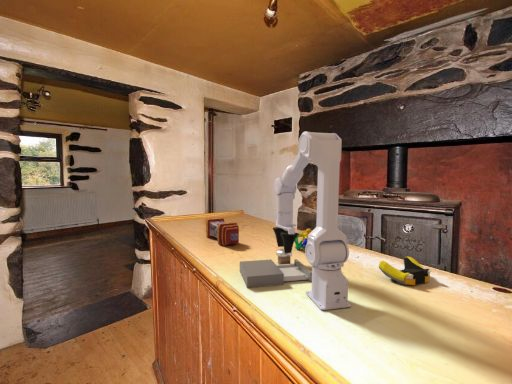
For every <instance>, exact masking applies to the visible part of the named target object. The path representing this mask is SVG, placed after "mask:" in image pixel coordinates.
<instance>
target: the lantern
mask: <svg viewBox="0 0 512 384" xmlns="http://www.w3.org/2000/svg"><path fill="white" fill-rule="evenodd" d="M239 228H240V227H239V224H238V223H237V222H226V223H225V219H224V218H223V217H215V218H206V219H205V236H206V238H209V239H210V238H216V239H217V244H218V245H219V246H227V245H232V244H233V245H238V244H239V241H240V240H239V238H240V236H239V235H240V234H239V233H240V229H239Z"/></svg>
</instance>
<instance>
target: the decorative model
mask: <svg viewBox="0 0 512 384" xmlns="http://www.w3.org/2000/svg"><path fill="white" fill-rule="evenodd" d="M312 231H313V230H312V228H307V229H305V231H302V232H296V233H297V234H298V235H297V237H296V239H295V241H294V244H295V245H294V248H295V250H301V249H305V248H306V245H307V240H308V235H309V233H311V232H312ZM301 237H302V238H301ZM299 238H301V240H300V241H299Z"/></svg>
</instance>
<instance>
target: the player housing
mask: <svg viewBox="0 0 512 384" xmlns="http://www.w3.org/2000/svg"><path fill="white" fill-rule="evenodd" d="M277 265H278V264H276V263H275V262H274V261H273V259H260V260H259V259H257V260H246V261H245V260H243V261H239V273H240V276H241V278H242V279H243V280H242V281H243V282H244V284H245V286H246V288H247V289H250V288H261V287H272V286H283V285H284V284H285V282H284V273H283V272H282V271H281V270H280V269H279V268H278V267H277Z"/></svg>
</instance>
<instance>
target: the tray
mask: <svg viewBox="0 0 512 384" xmlns="http://www.w3.org/2000/svg"><path fill="white" fill-rule="evenodd" d="M276 265H277V267H278V268H279V269H280V270H281V271H282V272H283V273H284V283H285V282H293V281H304V280H306V281H307V280H308V281H309V282H312V270H310V269H309V268H308V267H307V266H306V265H304V264H303V263H302V262H301V261H300V260H298V259H296V258H295V259H294V262H293V263H290V264H281V265H279V264H276Z"/></svg>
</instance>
